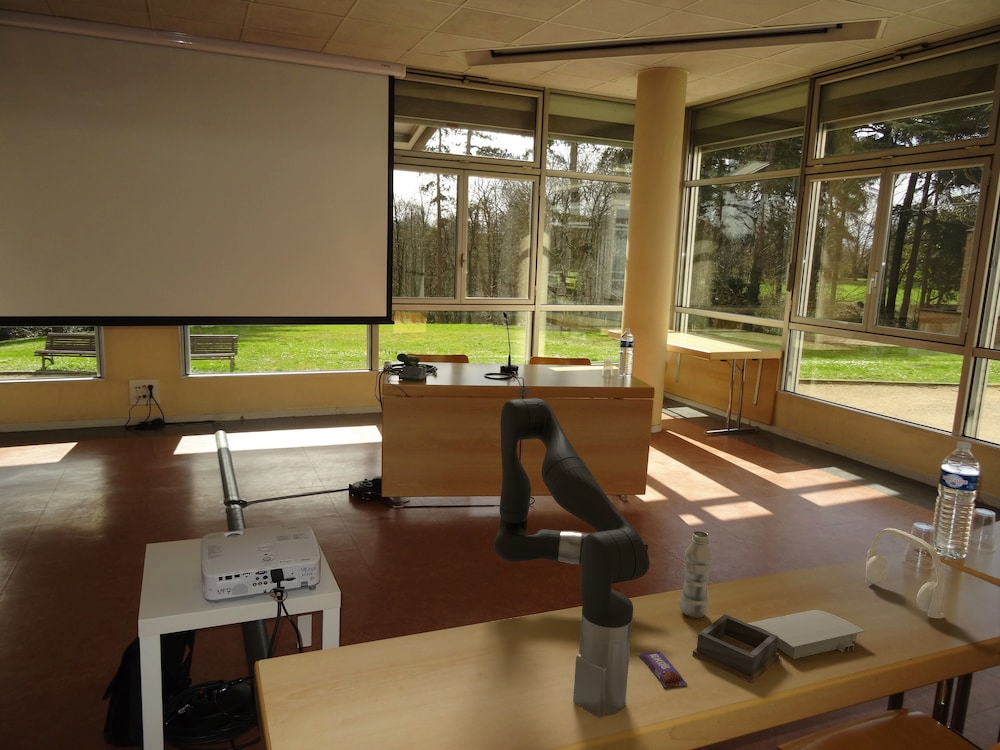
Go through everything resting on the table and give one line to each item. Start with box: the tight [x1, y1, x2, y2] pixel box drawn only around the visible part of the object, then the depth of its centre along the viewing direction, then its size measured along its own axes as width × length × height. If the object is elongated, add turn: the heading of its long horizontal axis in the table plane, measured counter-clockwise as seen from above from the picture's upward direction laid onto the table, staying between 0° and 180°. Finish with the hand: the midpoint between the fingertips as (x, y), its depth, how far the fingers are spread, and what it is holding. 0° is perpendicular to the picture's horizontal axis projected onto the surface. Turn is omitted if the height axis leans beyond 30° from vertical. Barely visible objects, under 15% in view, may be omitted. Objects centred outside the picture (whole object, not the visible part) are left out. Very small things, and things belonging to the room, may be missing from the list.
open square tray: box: [692, 613, 780, 684], centre depth 147 cm, size 13×13×5 cm
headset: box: [864, 527, 946, 619], centre depth 174 cm, size 20×7×18 cm, turn 20°
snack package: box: [638, 651, 688, 688], centre depth 142 cm, size 12×2×5 cm
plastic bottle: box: [679, 530, 714, 619], centre depth 162 cm, size 6×7×20 cm
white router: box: [746, 609, 866, 660], centre depth 156 cm, size 15×23×4 cm, turn 112°
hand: (648, 556), depth 164 cm, fingers open, 8 cm apart
